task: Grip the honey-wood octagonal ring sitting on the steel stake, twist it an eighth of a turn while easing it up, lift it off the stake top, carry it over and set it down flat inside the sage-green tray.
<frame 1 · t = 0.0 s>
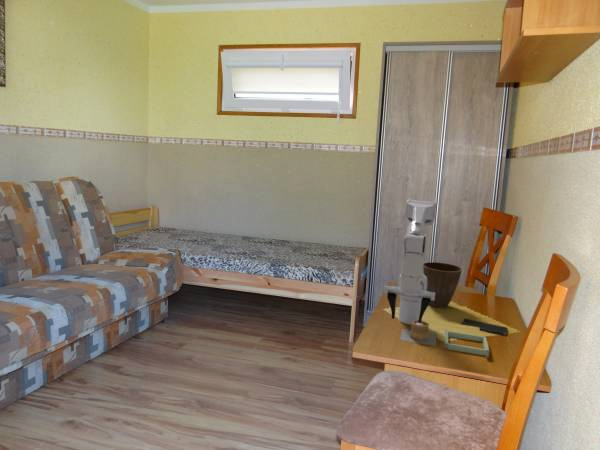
hand: (406, 319, 146), 10 cm above the table, tool pointing down, fingers open, 7 cm apart
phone: (483, 329, 175), on the table
plant pot: (437, 305, 198), on the table
stake board: (418, 339, 159), on the table
sage tray: (465, 347, 155), on the table
wood ring: (418, 337, 159), point 1 cm above the table, touching stake board
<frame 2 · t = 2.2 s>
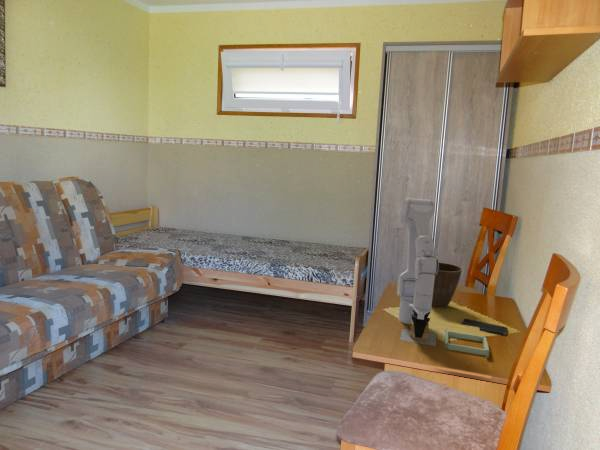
hand: (418, 334, 159), 2 cm above the table, tool pointing down, fingers closed on wood ring, 5 cm apart
wood ring: (418, 337, 159), point 1 cm above the table, touching gripper, stake board
everything else where it was.
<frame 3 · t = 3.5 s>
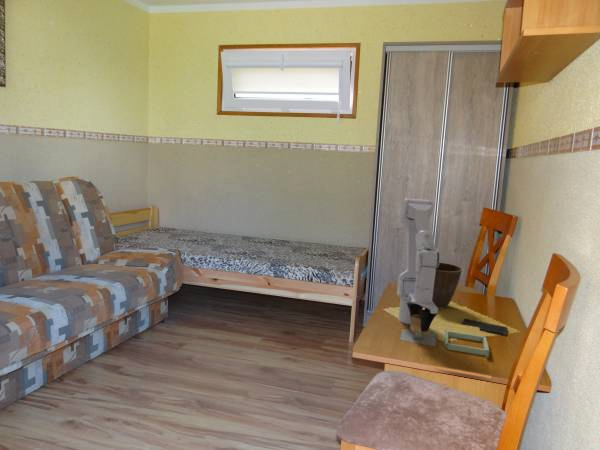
hand: (419, 327, 158), 4 cm above the table, tool pointing down, fingers closed on wood ring, 5 cm apart
wood ring: (419, 330, 158), point 3 cm above the table, touching gripper
everything else where it was.
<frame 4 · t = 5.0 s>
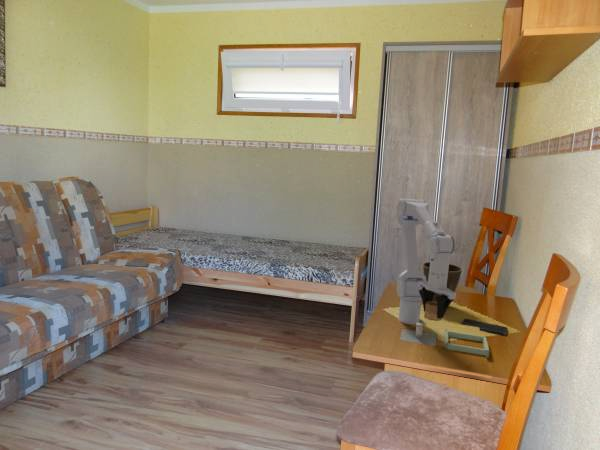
hand: (433, 314, 156), 9 cm above the table, tool pointing down, fingers closed on wood ring, 5 cm apart
wood ring: (433, 317, 157), point 8 cm above the table, touching gripper
everything else where it was.
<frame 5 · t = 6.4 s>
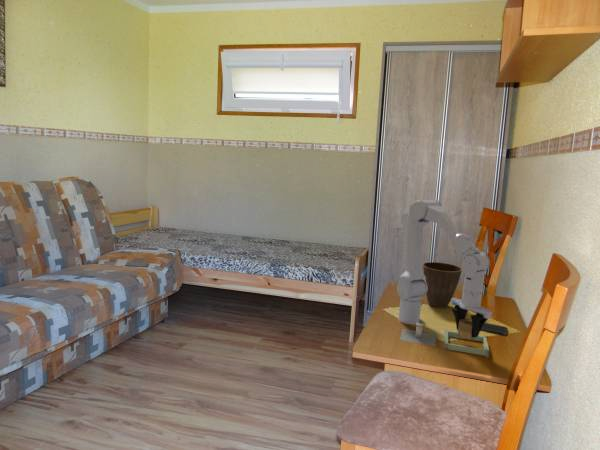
hand: (467, 333, 154), 5 cm above the table, tool pointing down, fingers closed on wood ring, 5 cm apart
wood ring: (466, 336, 155), point 4 cm above the table, touching gripper
everything else where it was.
when the fingers open (3 cm above the table, at t = 7.7 s): wood ring drops 1 cm, resting on sage tray.
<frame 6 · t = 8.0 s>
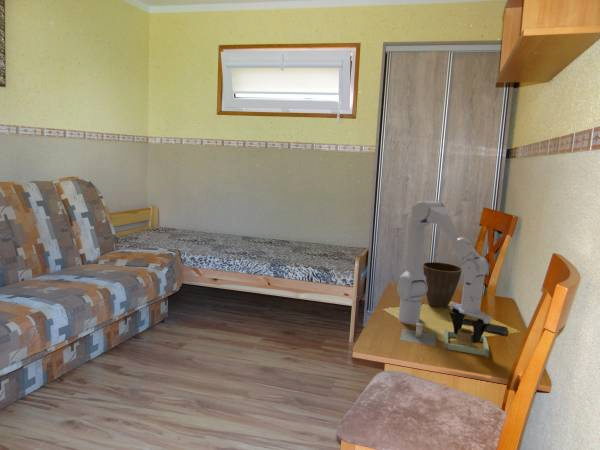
hand: (466, 337, 155), 3 cm above the table, tool pointing down, fingers open, 7 cm apart
wood ring: (465, 345, 155), point 1 cm above the table, touching sage tray
everything else where it was.
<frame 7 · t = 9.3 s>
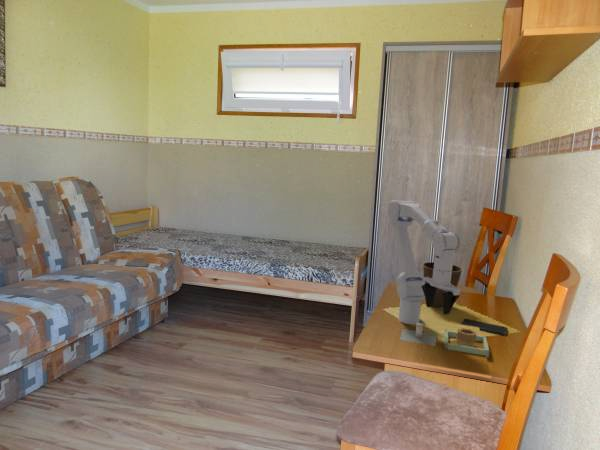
hand: (437, 310, 160), 9 cm above the table, tool pointing down, fingers open, 7 cm apart
nothing on the table moved.
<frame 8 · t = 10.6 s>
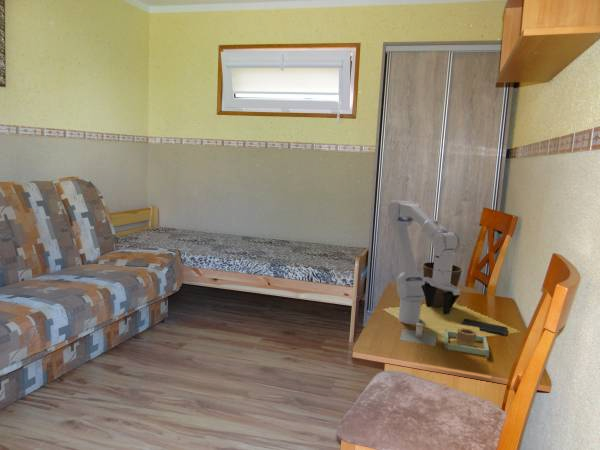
hand: (437, 310, 160), 9 cm above the table, tool pointing down, fingers open, 7 cm apart
nothing on the table moved.
at the end: wood ring inside the target area on the sage tray (0.1 cm from its centre), point 0.6 cm above the sage tray's base; wood ring tilted 0°; the gripper is holding nothing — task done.
